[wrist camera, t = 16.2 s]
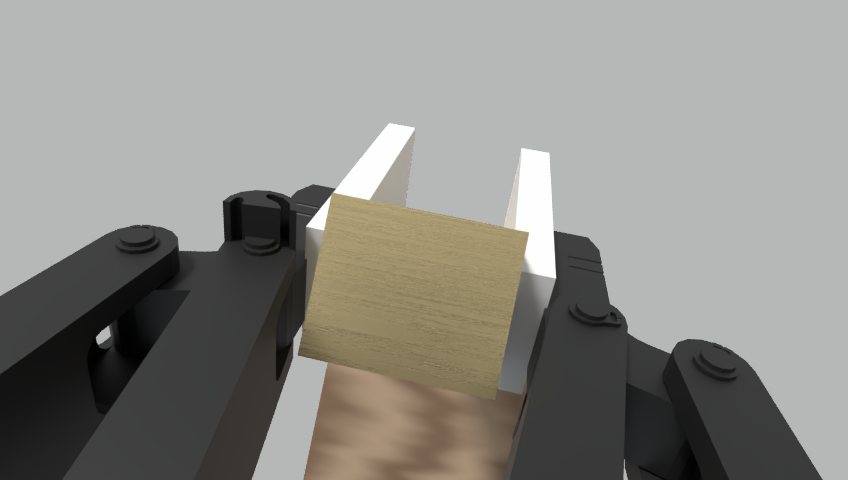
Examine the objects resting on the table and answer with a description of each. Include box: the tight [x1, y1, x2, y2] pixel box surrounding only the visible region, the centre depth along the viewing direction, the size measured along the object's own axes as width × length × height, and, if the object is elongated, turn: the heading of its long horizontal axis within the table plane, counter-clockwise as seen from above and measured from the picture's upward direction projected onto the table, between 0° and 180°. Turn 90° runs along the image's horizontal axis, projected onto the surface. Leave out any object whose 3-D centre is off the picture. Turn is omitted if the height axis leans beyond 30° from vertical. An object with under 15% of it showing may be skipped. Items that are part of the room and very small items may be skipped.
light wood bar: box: [298, 193, 529, 401], centre depth 21 cm, size 3×26×2 cm, turn 175°
